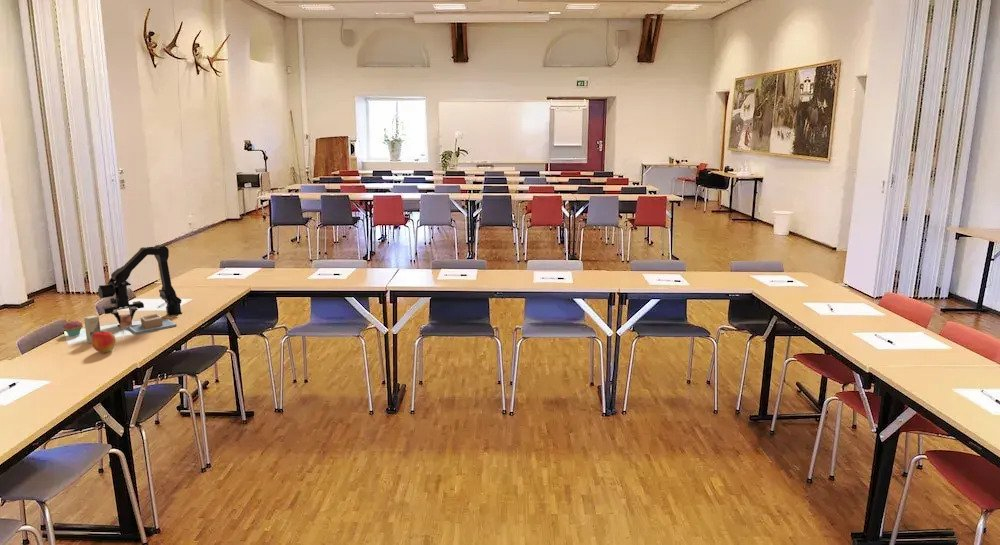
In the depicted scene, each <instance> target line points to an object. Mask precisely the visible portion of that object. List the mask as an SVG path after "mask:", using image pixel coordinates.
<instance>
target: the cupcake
mask: <svg viewBox="0 0 1000 545" xmlns="http://www.w3.org/2000/svg"><path fill="white" fill-rule="evenodd" d="M66 315H67V318H68V321H67V322H66V323H65V324H63V326H62V329H63V331H65V332H66V333H67V335H68V336H69V337H77V336H79V335H80V334H81V329H82V328H83V327H84V325H83V323H82V322H80V321H78V320H71V318H70V315H69V314H68V313H66ZM76 335H77V336H76Z"/></svg>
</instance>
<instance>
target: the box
mask: <svg viewBox="0 0 1000 545" xmlns="http://www.w3.org/2000/svg"><path fill="white" fill-rule="evenodd" d="M83 320H84V329H85V337H86V342H87V343H88V344H92V337H93V334H94V333H97V332H102V331H101V324H100V316H97V315H89V316H84V317H83Z"/></svg>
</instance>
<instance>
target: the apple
mask: <svg viewBox="0 0 1000 545" xmlns="http://www.w3.org/2000/svg"><path fill="white" fill-rule="evenodd" d="M115 345H116V336H115V334H113V333H112V332H110V331H105V330H104V331H101V332H97V333H94V334H93V337H92V346H93V349H95V351H97V352H98V353H103V354H105V353H108V352H111V351H112V350H113V349H114V348H115Z"/></svg>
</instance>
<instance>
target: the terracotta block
mask: <svg viewBox="0 0 1000 545" xmlns="http://www.w3.org/2000/svg"><path fill="white" fill-rule="evenodd" d="M119 317H120V324H119V323H118V325H119V326H120V327H128V326H133V319H132V320H131V315H130V313H125V314H121V315H120V314H119Z"/></svg>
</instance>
